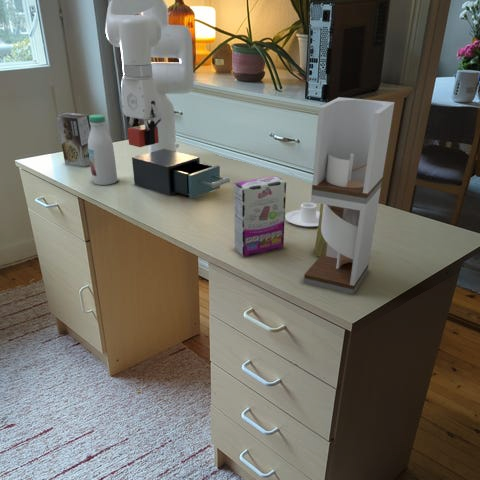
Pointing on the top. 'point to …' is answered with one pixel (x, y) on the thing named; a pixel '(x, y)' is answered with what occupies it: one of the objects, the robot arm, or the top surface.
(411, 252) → the top surface
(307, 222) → the candle holder
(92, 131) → the milk bottle
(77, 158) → the printed cardboard box
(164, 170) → the cabinet
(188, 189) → the drawer
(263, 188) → the candy bar box
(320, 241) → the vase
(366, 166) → the tall two-tier shelf
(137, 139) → the package
